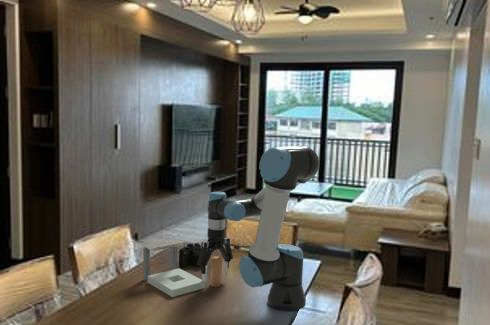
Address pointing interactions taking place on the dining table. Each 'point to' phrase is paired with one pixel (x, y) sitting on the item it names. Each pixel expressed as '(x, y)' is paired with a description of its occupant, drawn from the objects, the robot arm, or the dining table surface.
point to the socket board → (176, 282)
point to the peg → (216, 271)
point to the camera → (189, 255)
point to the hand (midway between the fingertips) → (214, 278)
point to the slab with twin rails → (158, 246)
